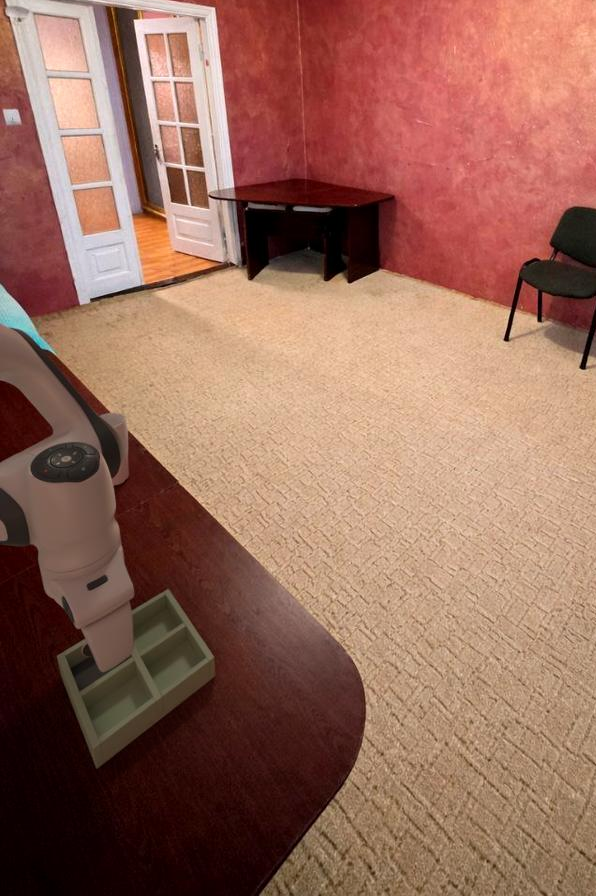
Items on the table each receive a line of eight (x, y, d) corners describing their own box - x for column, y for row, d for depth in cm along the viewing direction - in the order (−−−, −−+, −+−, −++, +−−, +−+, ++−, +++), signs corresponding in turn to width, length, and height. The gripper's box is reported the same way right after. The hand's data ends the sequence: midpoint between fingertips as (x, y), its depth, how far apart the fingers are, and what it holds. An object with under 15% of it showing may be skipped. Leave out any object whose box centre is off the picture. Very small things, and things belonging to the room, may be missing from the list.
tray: (96, 769, 59) (92, 748, 58) (60, 674, 69) (56, 655, 67) (215, 676, 70) (214, 657, 69) (170, 605, 80) (168, 588, 78)
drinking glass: (95, 476, 107) (86, 418, 103) (129, 465, 111) (122, 409, 107) (101, 494, 102) (92, 433, 98) (136, 481, 107) (129, 423, 102)
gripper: (33, 529, 67) (48, 603, 71) (79, 631, 54) (95, 714, 58) (85, 506, 72) (96, 578, 76) (139, 595, 59) (149, 676, 63)
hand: (96, 638), depth 67 cm, fingers closed on wristwatch, 5 cm apart
